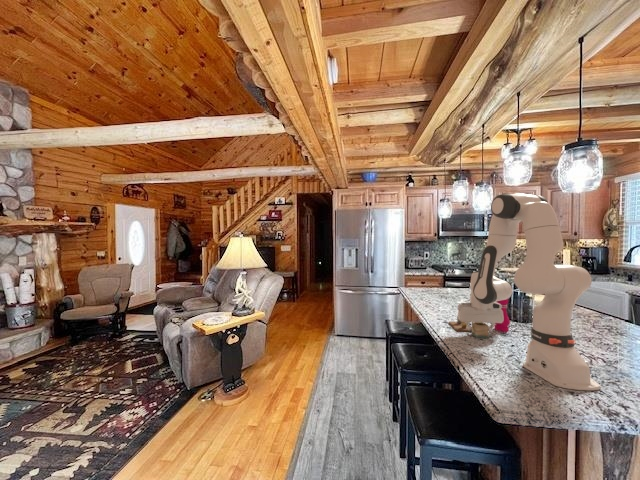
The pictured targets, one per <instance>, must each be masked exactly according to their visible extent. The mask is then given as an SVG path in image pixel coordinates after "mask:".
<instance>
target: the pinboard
mask: <svg viewBox="0 0 640 480" xmlns="http://www.w3.org/2000/svg"><path fill="white" fill-rule="evenodd" d="M456 317H457V318H456V320H457V321H448V324H449V325H450V326H451V328H453V329H454V330H455V331H456V332H458V333H459V332H460V333H472V331H469V330H468V326H467V324H466V323H465V322H461V321H460V320H459V319H458V315H457V316H456ZM469 326H471V325H470V324H469Z"/></svg>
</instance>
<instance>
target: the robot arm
mask: <svg viewBox="0 0 640 480" xmlns="http://www.w3.org/2000/svg"><path fill="white" fill-rule="evenodd" d="M490 209H491V213H492V214H491V219H490V222H489V227H488V235H487V236H488V237H487V240H486V241H487V242H486V244H485V245H486V246H485V247H484V248H483V252H482V254H481V258H480V264H479V268H478V270H477V271H474V272H472V273H471V276H470V291H471V292H470V299H469V301H470V302H460V303H459V304H458V305H457V310H458V311H457V316H458V319H459V320H460V321H461V322H465V323H466V324H467V326H468V330H469V331H472V325H470V324H471V323H472V322H484V323H485V324H486V323H489V324H490V326H489V329H488V333H490V332H493V331H494V330H493V329H495V325H496V324H495V323H502V322H503V321H504V316H503V311H502V310H501V308H502V305H501V304H499V303H497V302H496V301H501V300H506V299H508V300H509V299H510V298H511V297H512V295H513V287H512V285H511V284H510V283H509V282H508V281H507V280H504V279H501V278H498V277H497V276H496V275H495V273H496V267H497V263H499V261H501V259H502V258H503V257H505V256H506V255H508V254H510V253H512V252H513V250H514V249H515V248H516V247H515V246H516V244H517V239H518V238H517V235H518V226H519V224H520V223H521V222H522V224H523V232H524V237H525V244H526V256H525V259H524V261H523V262H522V265H521V266H520V267H519V268H518V269H517V270H516V271H515V273H514V276H513V277H514V278H513V280H514V284H515V286H516V287H517V289H518V290H519V291H521V292H523V293H526V294H531V295H537V296H539V295H540V296H541V295H542V296H543V295H544V297H543V299H542V300H541V301H540V302H539V303H537V304H535V305H534V307H533V310H532V327H531V329H530V337H531V340H530V342H529V343H528V345H527V348H526V349H527V351H526V358H525V361H524V362H522V367H524V368H525V369H527V370H528V371H530V372H532V373H533V374H535V375H537V376H538V377H539V378H542V379H543V380H545V381H546V382H547V383H549V384H551V385H552V386H556V387H558V388H563V389H569V390H575V391H576V390H577V391H598V390H601V385H600V384H599V383H598V382H596V381H595V380H594V379H593V378H592V377H591V371H590V365H589V361H587V360H584V358H583V357H582V356H581V354H580V353H579V352H578V350H577V349H576V347H575V344H576V340H575V339H574V337H573V335H572V331H571V327H572V314H573V310H574V307H575V306H576V303H577V301H578V300H579V299H580V296H581V295H582V294H583V293H585V292H586V291H588V290H589V289H590V288H591V285H592V277H591V275H590V273H589V271H588V270H587V269H586V268H583V267H581V266H578V265H571V264H555V262H554V261H555V257H556V255H557V254H558V253H560V252H561V251H562V250H563V248H564V240H563V236H562V231H561V226H560V222H559V219H558V216H557V213H556V211H555V209H554V208H553V206H552V204H550V203H549V201H548V199H547V198H546V197H544V196H542V195H538V194H527V193H518V192H517V193H502V194H501V193H500V194H498V195H496V196H495V197H494V198H493V199H492V201H491V205H490ZM469 325H470V326H469Z"/></svg>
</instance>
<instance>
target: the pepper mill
mask: <svg viewBox="0 0 640 480" xmlns="http://www.w3.org/2000/svg"><path fill="white" fill-rule="evenodd" d="M496 302H497V303H499V304H501V305H502V308H501V310H502V311H503V316H504V321H503V322H502V323H495V326H494V329H495V330H496V331H497V332H504V333H506V332H509V331H510V330H509V326H510V323H511V322H510V318H509V316H508V312H507V308H508V303H509V299H506V300H501V301H496Z"/></svg>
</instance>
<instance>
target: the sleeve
mask: <svg viewBox="0 0 640 480" xmlns="http://www.w3.org/2000/svg"><path fill="white" fill-rule="evenodd" d="M471 327H472V332H471V335H472V336H474V337H475V338H477V339H478V338H479V339H489V331H488V329H489V327H490V326H489V325H488V324H486V323H484V322H471Z"/></svg>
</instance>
